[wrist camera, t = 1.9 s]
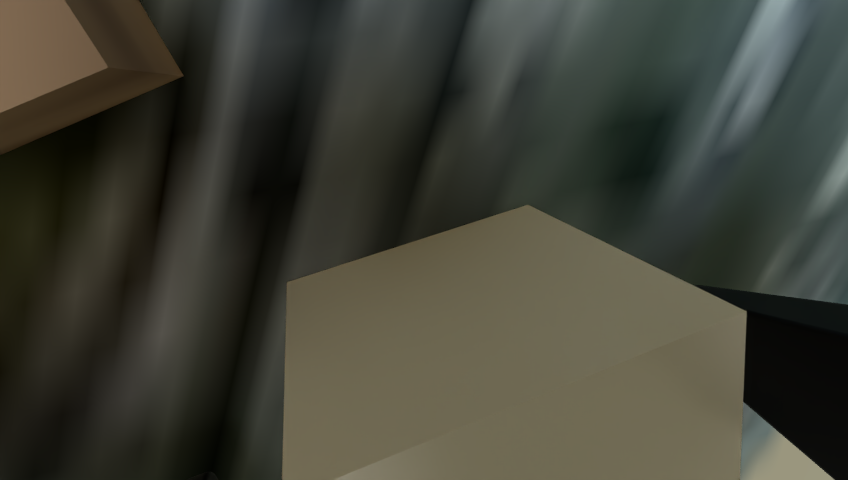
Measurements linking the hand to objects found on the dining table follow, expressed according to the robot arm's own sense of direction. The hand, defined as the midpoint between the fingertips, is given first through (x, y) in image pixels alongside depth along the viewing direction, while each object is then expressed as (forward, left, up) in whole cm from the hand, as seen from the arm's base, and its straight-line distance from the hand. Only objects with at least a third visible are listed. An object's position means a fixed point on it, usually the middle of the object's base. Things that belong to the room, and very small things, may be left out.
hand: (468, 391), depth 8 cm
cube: (0, 0, -2) cm, 2 cm away
